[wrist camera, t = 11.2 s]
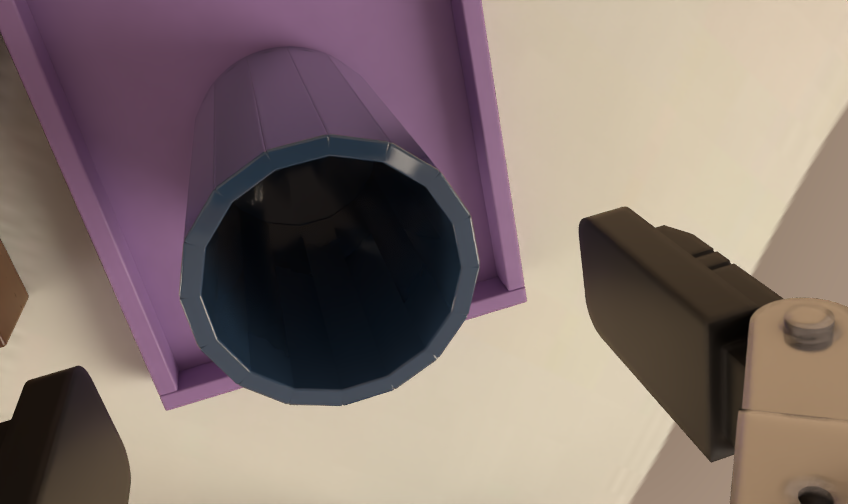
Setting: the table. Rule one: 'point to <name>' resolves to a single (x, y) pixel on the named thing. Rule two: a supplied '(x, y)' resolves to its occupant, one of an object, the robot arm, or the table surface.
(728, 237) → the table surface
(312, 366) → the tumbler
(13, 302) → the rack
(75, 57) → the tray
